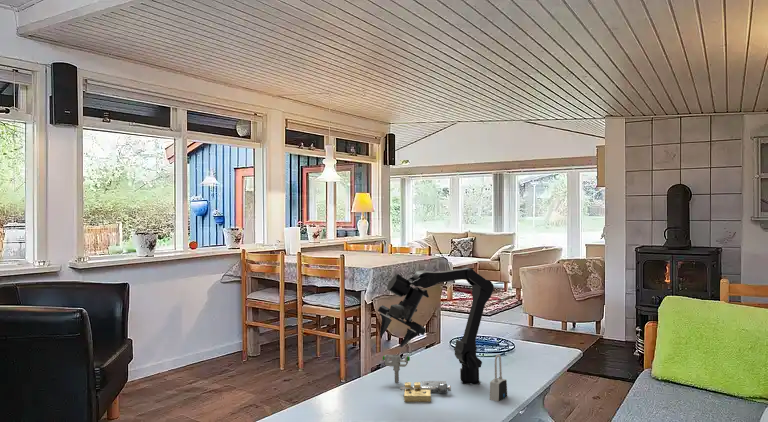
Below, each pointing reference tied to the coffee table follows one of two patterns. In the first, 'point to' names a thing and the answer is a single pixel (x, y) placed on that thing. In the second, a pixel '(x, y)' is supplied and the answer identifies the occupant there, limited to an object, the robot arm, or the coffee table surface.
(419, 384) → the loose leaf
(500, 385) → the padlock
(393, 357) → the mechanical component
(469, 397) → the coffee table surface
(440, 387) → the fixed leaf
